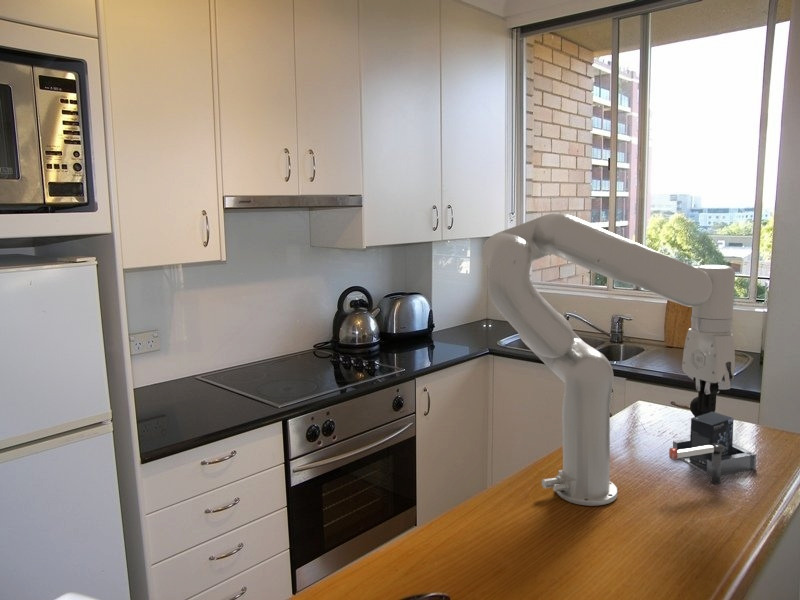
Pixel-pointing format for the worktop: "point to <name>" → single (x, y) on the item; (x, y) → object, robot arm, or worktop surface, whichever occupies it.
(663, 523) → the worktop surface
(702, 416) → the box
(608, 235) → the robot arm
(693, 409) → the light bulb
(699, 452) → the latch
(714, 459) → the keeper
